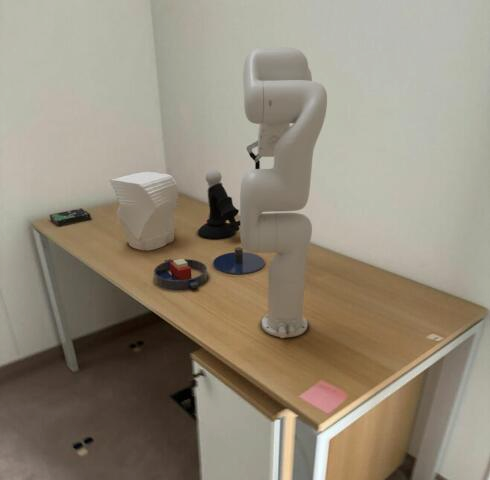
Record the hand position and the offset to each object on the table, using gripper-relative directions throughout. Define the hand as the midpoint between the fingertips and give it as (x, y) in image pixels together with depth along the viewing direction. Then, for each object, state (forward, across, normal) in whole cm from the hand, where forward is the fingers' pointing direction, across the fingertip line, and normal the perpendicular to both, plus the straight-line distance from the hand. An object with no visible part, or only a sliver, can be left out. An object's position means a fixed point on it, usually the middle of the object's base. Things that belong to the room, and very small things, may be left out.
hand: (273, 174), depth 150 cm
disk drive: (+31, -87, +45) cm, 103 cm away
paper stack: (+31, -44, +18) cm, 56 cm away
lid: (+30, -12, -4) cm, 32 cm away
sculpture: (+31, -19, +25) cm, 44 cm away
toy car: (+30, -30, -15) cm, 45 cm away
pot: (+30, -30, -15) cm, 45 cm away
